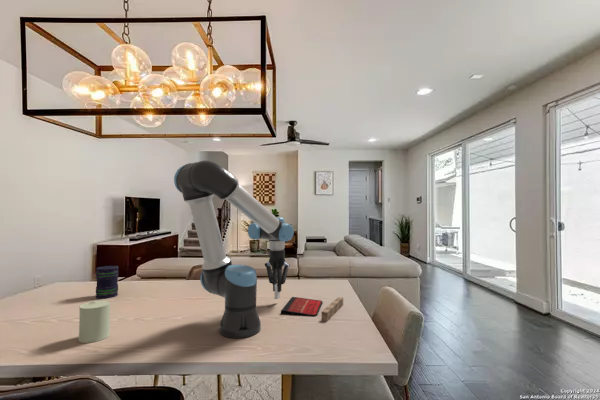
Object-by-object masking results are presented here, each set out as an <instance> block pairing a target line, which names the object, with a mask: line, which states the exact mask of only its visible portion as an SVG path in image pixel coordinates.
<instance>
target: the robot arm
mask: <svg viewBox="0 0 600 400" xmlns="http://www.w3.org/2000/svg"><path fill="white" fill-rule="evenodd" d="M173 182H174V186H175V189H177V190H178V191H179V193H180V194H181V195H182V197H183V201H184V202H185V203H187V204H188V205H189V208H190V211H191V215H192V219H193V222H194V223H193V224H194V226H195V231H196V235H197V239H198V241H199V243H198V244H199V245H200V250H201V254H202V257H203V264H202V265H201V270H202V271H201V274H200V277H199V279H200V284H201V286H202V288H203V289H204V290H205V291H207V292H208V293H210V294H213V295H216V296H219V297H223V298H224V311H223V315H222V318H221V321H220V323H219V334H220V335H222V336H224V337H226V338H229V339H230V338H231V339H232V338H233V339H241V338H243V339H244V338H247V337H252V336H254V335H257V334H258V333H259V332H260V331H261V329H262V324H261V320H260V316H259V314H258V313H259V311H258V310H257V291H258V290H257V284H258V282H257V281H258V277H257V271H256V269H255V268H254V267H252V266H249V265H246V264H244V265H243V264H233V263H232V260H231V257H230V256H227V255H226V251H225V247H224V243H223V239H222V235H221V230H220V227H219V222H218V219H217V214H216V210H215V206H214V202H213V198H214V197H215V196H216V197H217V198H218V199H220V200H226V201H227V202H228V203H229V204H230V205H232V206H234V207H235V208H236V209H237V210H238V211H239V212H241V214H243V215H244V216H246V217H247V218H248V219H249V220H250V221H251V222H252V223H250V224H249V225H248V226H247V236H248V237H249V238H250V239H251V240H267V241H268V243H269V244H268V245H269V246H268V249H269V250H268V252H269V253H268V254H269V255H268V257H269V259H268V261H267V262H266V263H264V266H265V268H266V274H267V278H268V282H269V284H272V292H274V300H279V299H280V298H281V292H282V285H284V284H285V283H286V281H287V275H288V270H289V269H290V266H291V264H289V263H287V262H286V258H285V257H286V250H285V247H286V245H285V244H286V242H289V241H291V240H292V239H293V237H294V232H295V231H294V227H293V226H292V225H291V224H289V223H286V222H285V218H284V217H281V216H280V217H279V216H278V217H277V216H275V215H274V214H273V213H272V212H271V211H270V210H269V209H267V208H266V207H265V206H264V205H263V204H262V203H261V202H260V201H258V199H256V198H255V197H254V196H253V195H252V194H251V193H250V192H249V191H247V190H246V189H245V188H244V187H243V186H242V185H241V184H240V183H239V179H238V178H237V177H236V176H235V175H234V174H232V173H231V172H230V171H229V170H227V169H226V168H225V167H223V166H222V165H220V164H218V163H217V162H214V161H210V160H201V161H200V160H199V161H196V162H189V163H186V164H183V165H182V166H180V167H178V169H177V170H176V171H175V173H174V177H173Z"/></svg>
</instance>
